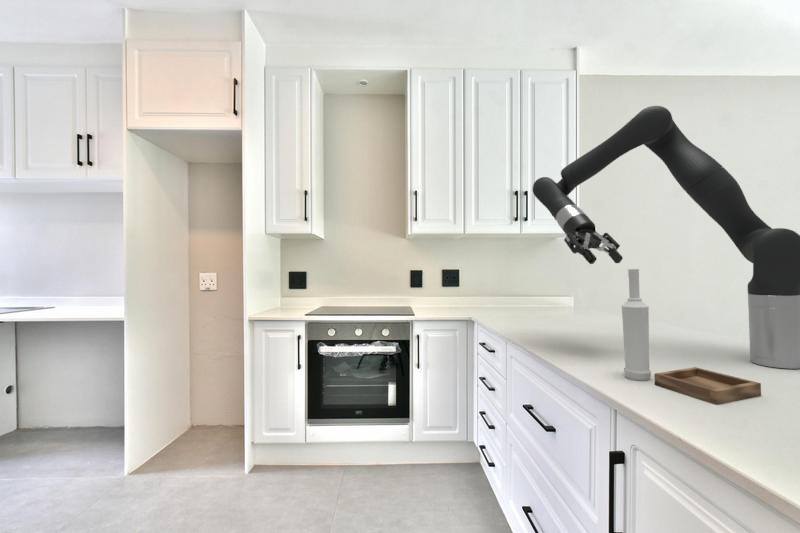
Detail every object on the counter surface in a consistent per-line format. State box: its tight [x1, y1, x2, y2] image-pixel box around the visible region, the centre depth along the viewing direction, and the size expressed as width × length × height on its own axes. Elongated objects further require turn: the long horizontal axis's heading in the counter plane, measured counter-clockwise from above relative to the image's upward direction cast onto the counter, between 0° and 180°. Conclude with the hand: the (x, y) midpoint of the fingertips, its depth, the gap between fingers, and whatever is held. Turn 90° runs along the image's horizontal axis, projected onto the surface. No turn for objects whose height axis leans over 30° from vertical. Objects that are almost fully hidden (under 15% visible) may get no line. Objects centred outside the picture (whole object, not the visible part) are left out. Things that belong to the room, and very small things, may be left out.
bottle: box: [621, 268, 652, 382], centre depth 83 cm, size 5×5×25 cm
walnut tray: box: [654, 366, 762, 405], centre depth 74 cm, size 12×12×2 cm
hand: (607, 261), depth 96 cm, fingers open, 8 cm apart
